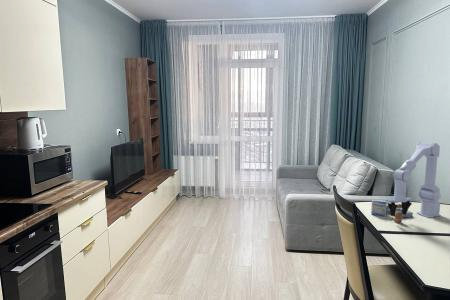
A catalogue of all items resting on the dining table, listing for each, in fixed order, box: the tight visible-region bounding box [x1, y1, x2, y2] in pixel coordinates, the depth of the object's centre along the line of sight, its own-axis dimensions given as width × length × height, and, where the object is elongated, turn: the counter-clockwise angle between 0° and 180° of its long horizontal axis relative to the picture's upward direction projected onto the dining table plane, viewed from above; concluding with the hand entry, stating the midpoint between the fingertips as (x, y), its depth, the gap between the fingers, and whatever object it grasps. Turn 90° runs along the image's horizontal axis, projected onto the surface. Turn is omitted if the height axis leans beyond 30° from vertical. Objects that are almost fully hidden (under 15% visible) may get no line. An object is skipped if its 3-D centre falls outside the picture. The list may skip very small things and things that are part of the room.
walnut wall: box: [386, 203, 402, 209], centre depth 196 cm, size 14×4×4 cm, turn 105°
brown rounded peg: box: [394, 211, 403, 224], centre depth 178 cm, size 4×4×6 cm
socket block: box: [386, 207, 414, 219], centre depth 190 cm, size 10×10×2 cm
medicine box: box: [370, 198, 387, 217], centre depth 191 cm, size 8×4×9 cm, turn 68°
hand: (398, 214), depth 178 cm, fingers open, 7 cm apart
